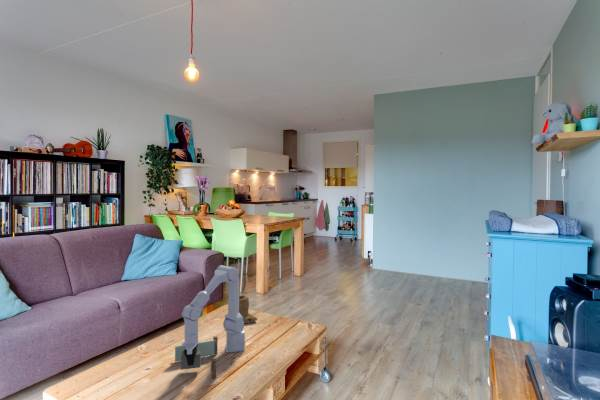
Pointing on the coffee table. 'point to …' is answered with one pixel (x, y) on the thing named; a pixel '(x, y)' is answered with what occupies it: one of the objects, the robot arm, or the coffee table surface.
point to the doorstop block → (196, 361)
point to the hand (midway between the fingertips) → (191, 362)
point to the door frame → (214, 362)
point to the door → (205, 347)
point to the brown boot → (245, 310)
